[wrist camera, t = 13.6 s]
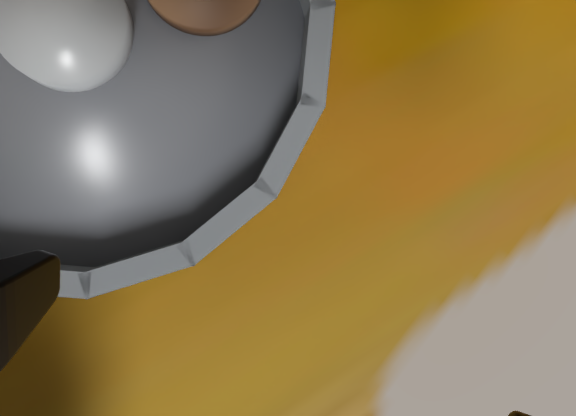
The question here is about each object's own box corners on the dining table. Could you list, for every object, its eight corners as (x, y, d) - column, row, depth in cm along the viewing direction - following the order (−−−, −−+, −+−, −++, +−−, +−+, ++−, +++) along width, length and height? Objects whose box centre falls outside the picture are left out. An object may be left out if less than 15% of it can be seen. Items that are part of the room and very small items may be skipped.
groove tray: (-223, 263, 20) (-289, 272, 17) (-168, -258, 20) (-225, -325, 17) (296, 303, 22) (305, 315, 20) (341, -159, 22) (356, -205, 20)
